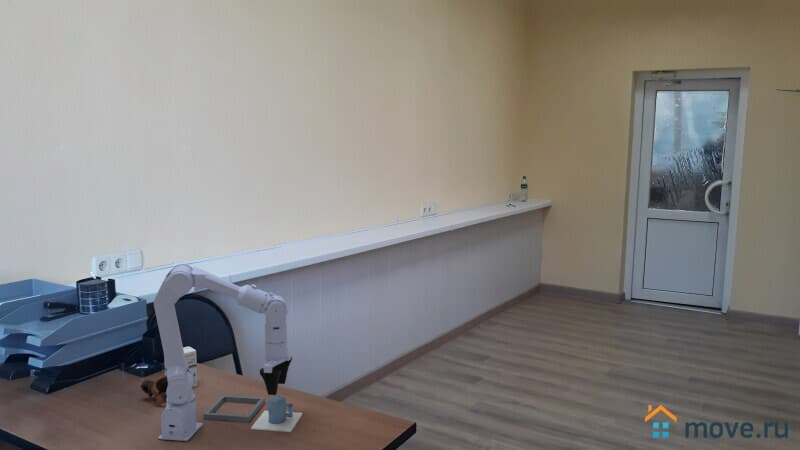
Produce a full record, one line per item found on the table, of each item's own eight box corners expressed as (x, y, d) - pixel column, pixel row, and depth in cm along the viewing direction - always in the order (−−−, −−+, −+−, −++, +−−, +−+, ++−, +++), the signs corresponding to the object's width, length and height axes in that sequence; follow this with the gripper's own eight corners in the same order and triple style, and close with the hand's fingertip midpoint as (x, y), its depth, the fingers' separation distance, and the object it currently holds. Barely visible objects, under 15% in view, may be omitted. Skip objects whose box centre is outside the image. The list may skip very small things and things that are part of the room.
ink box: (171, 393, 191) (170, 355, 189) (164, 388, 194) (163, 351, 193) (198, 385, 197) (197, 349, 195) (191, 381, 200) (189, 345, 199)
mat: (291, 432, 166) (291, 430, 166) (250, 429, 168) (250, 427, 168) (302, 414, 177) (302, 412, 177) (264, 411, 178) (264, 410, 178)
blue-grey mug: (265, 423, 170) (265, 402, 169) (271, 415, 175) (271, 395, 174) (289, 425, 169) (289, 404, 169) (294, 417, 174) (294, 396, 173)
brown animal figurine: (184, 393, 192) (187, 375, 188) (174, 418, 184) (176, 400, 180) (145, 384, 191) (146, 366, 186) (132, 409, 183) (133, 391, 178)
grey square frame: (249, 422, 172) (249, 417, 172) (203, 419, 173) (203, 414, 173) (265, 402, 185) (265, 397, 184) (222, 400, 186) (222, 395, 186)
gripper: (282, 350, 162) (282, 400, 163) (298, 333, 176) (298, 379, 178) (255, 348, 163) (256, 398, 164) (273, 331, 177) (274, 378, 179)
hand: (276, 388), depth 171 cm, fingers open, 7 cm apart
